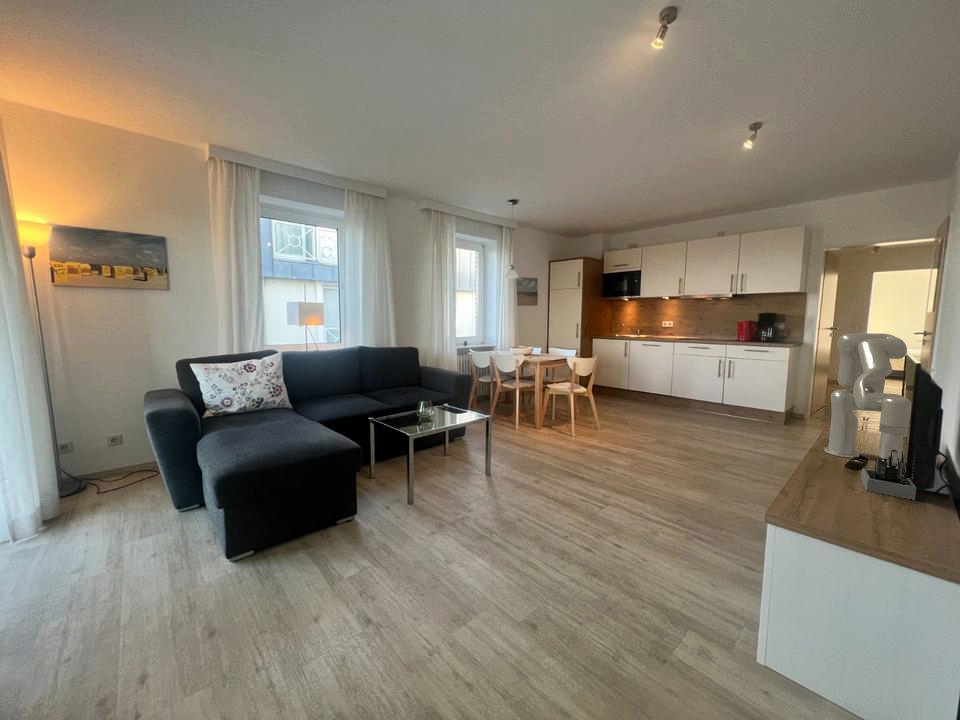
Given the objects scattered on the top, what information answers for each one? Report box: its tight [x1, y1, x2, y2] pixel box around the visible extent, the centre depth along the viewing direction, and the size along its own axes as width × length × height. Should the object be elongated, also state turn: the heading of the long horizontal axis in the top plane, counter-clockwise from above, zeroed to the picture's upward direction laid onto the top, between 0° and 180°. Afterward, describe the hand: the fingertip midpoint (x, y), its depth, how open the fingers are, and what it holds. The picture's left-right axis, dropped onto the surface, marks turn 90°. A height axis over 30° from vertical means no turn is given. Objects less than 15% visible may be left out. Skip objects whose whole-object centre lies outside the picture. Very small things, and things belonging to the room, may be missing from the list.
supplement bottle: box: [875, 456, 903, 484], centre depth 149 cm, size 7×7×12 cm
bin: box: [860, 468, 917, 501], centre depth 150 cm, size 13×13×5 cm
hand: (888, 474), depth 149 cm, fingers closed on supplement bottle, 6 cm apart
